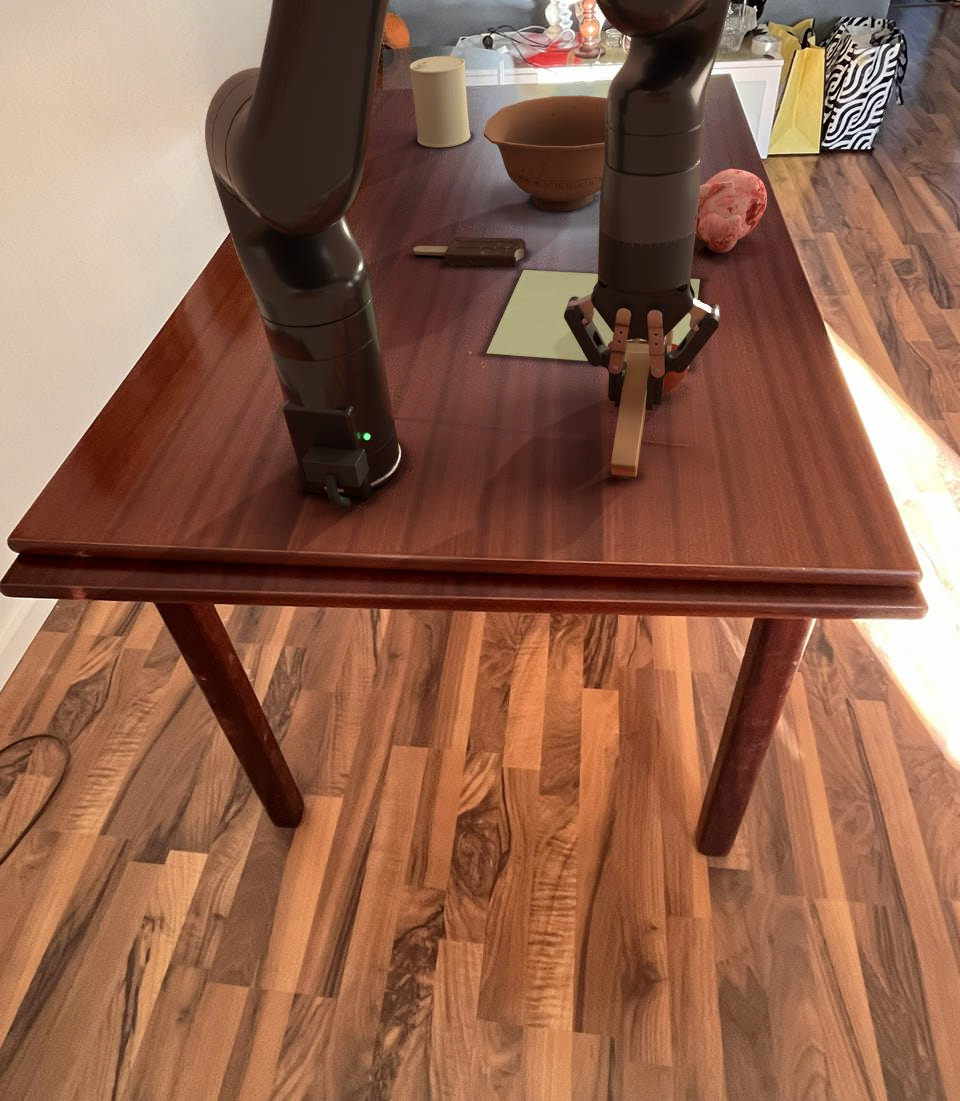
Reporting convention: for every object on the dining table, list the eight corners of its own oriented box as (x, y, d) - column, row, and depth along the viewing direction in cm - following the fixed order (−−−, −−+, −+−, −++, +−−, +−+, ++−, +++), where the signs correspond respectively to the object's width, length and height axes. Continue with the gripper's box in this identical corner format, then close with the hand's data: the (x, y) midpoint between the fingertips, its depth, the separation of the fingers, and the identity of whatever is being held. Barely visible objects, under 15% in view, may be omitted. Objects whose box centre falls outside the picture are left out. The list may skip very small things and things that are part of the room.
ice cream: (631, 247, 103) (747, 212, 93) (638, 180, 105) (751, 138, 95) (670, 288, 111) (780, 259, 101) (675, 225, 113) (784, 190, 103)
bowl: (467, 224, 115) (460, 142, 107) (512, 166, 129) (510, 90, 121) (621, 237, 109) (626, 151, 101) (651, 174, 123) (657, 95, 115)
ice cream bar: (409, 264, 107) (521, 268, 104) (407, 253, 106) (521, 256, 103) (419, 247, 111) (528, 250, 108) (418, 235, 109) (527, 238, 107)
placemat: (688, 370, 85) (688, 368, 85) (486, 354, 90) (486, 353, 90) (699, 280, 99) (700, 279, 99) (523, 271, 104) (523, 269, 103)
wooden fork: (652, 479, 73) (653, 468, 71) (595, 473, 74) (593, 462, 72) (677, 307, 77) (678, 291, 74) (622, 304, 78) (621, 288, 76)
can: (409, 136, 142) (400, 59, 134) (457, 125, 145) (451, 49, 136) (429, 152, 136) (421, 72, 128) (479, 140, 139) (474, 61, 130)
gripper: (550, 236, 62) (554, 420, 74) (737, 243, 59) (709, 435, 71) (568, 197, 67) (568, 376, 80) (741, 201, 64) (714, 387, 76)
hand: (635, 403), depth 75 cm, fingers closed on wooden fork, 2 cm apart
